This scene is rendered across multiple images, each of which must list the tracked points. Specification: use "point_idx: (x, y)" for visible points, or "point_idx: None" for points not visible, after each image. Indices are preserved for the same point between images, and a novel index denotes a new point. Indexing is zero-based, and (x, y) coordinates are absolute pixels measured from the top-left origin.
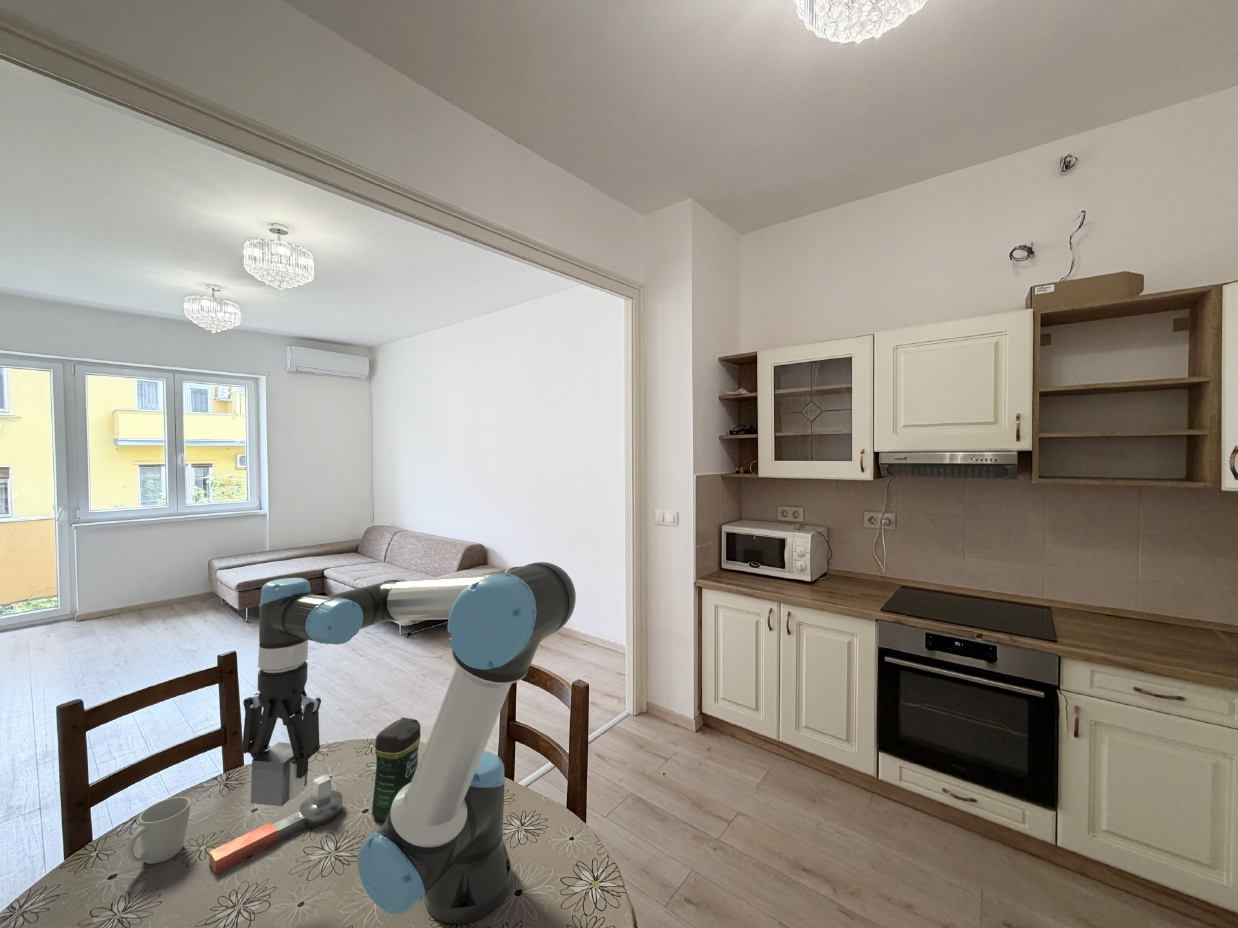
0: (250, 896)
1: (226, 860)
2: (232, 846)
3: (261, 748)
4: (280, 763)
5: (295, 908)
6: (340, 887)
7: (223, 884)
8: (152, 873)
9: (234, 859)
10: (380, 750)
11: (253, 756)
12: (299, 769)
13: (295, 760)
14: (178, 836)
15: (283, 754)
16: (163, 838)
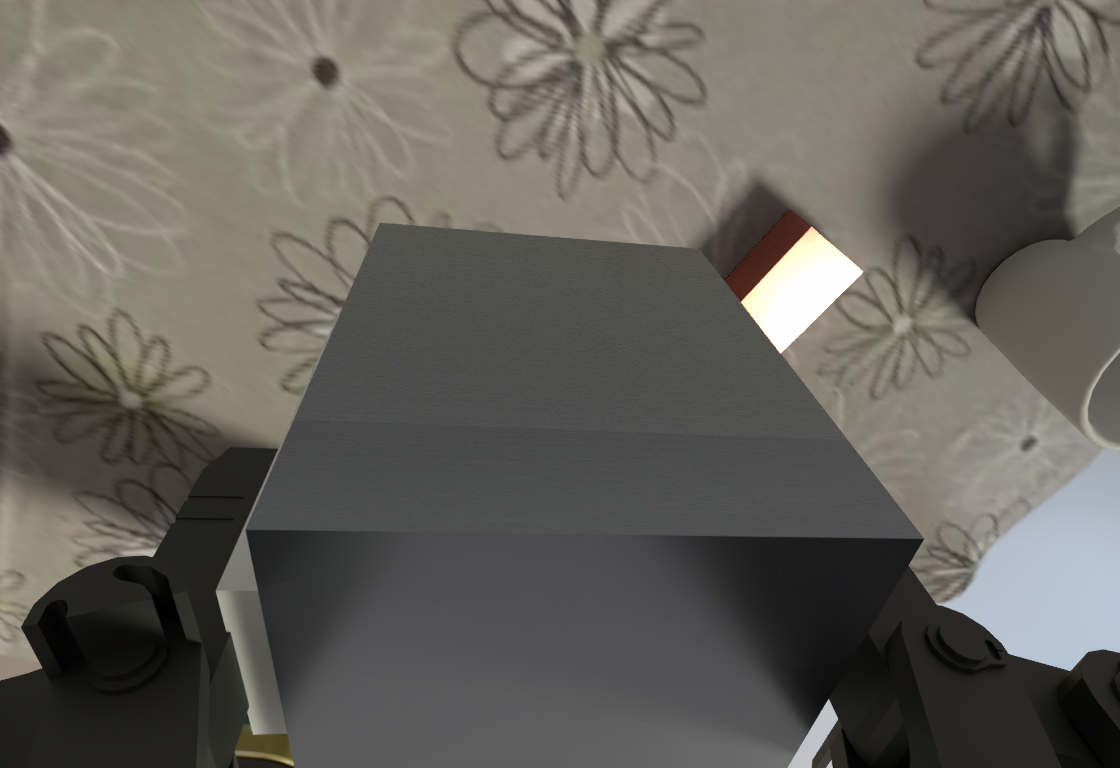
0: (575, 103)
1: (774, 248)
2: (785, 301)
3: (902, 745)
4: (312, 522)
5: (331, 45)
6: (221, 167)
7: (725, 160)
8: (1023, 199)
9: (749, 265)
10: (240, 760)
11: (942, 619)
12: (224, 523)
13: (88, 616)
14: (1024, 314)
15: (482, 697)
16: (1085, 282)
